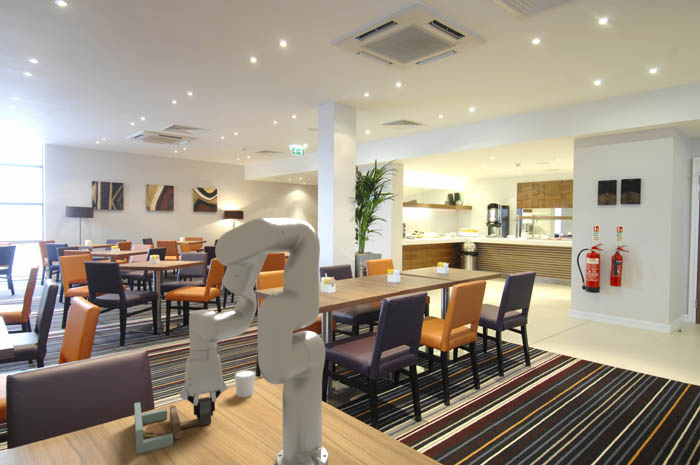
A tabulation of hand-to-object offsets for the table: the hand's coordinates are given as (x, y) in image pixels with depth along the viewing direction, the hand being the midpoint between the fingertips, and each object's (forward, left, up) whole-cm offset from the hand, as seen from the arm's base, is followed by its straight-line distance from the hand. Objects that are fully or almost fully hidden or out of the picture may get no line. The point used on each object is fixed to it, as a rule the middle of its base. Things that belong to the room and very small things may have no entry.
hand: (204, 414), depth 120 cm
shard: (0, +11, -3) cm, 11 cm away
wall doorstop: (0, +4, -2) cm, 4 cm away
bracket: (0, +14, -2) cm, 14 cm away
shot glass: (+14, -16, -2) cm, 21 cm away
